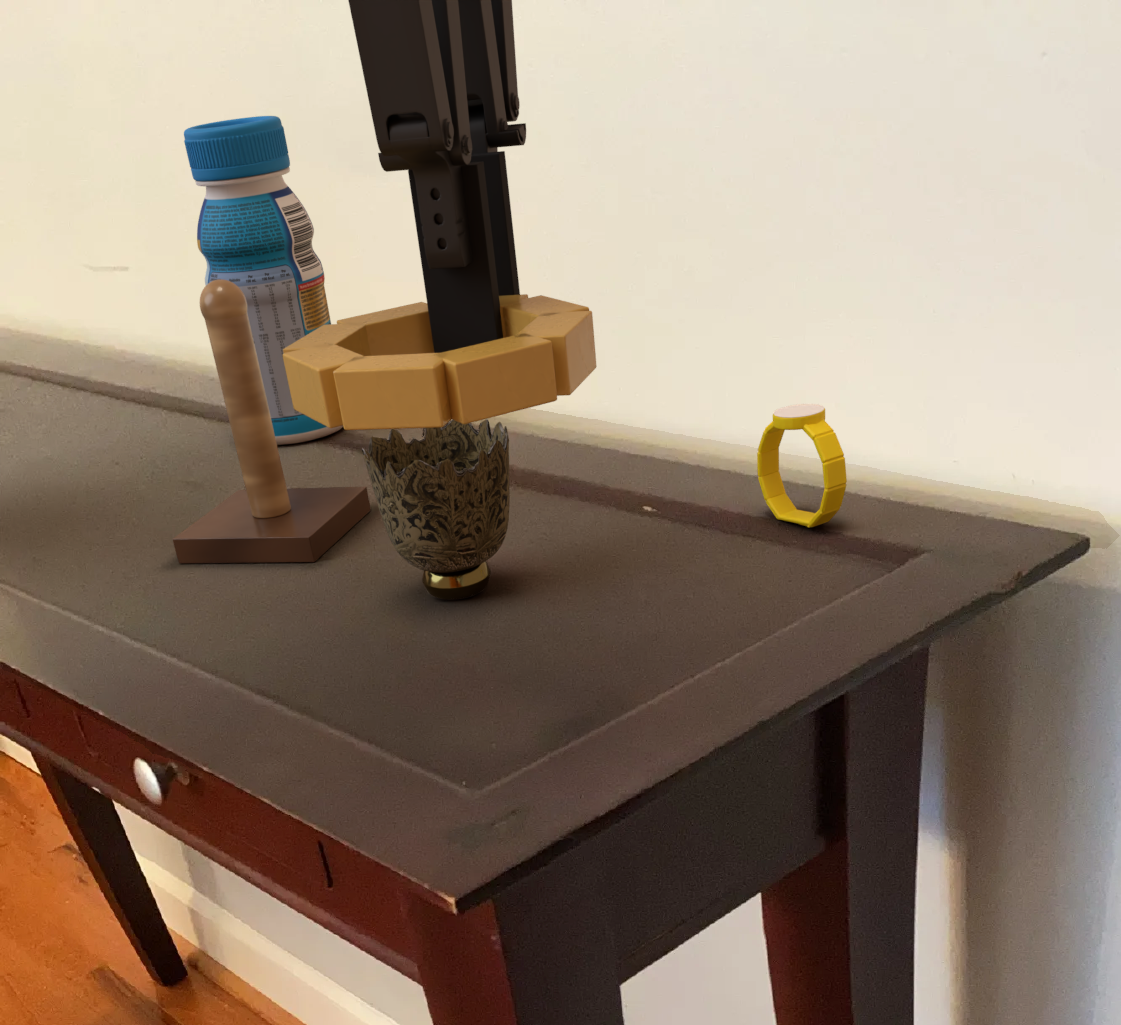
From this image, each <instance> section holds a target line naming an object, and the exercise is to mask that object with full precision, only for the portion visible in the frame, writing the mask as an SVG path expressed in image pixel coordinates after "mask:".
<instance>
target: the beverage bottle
mask: <svg viewBox="0 0 1121 1025" xmlns="http://www.w3.org/2000/svg"><path fill="white" fill-rule="evenodd" d="M183 138H184V141H183V143H184V145H185V151H186V156H187V160H188V163H189V167H190V172H191V175H192V178H193V180H194V181H195V185H196V186H198V187H205V196H204V198H203V201H202V205H201V208H200V212H199V216H198V221H197V226H196V227H197V230H196V241H197V242H196V243H197V244H196V245H197V249H198V250H199V252H200V253H201V255H202V256H203V257H204V259H205V262H206V270H205V275H204V285H205V286H206V285H207V284H208V283H210V282H212V281H214V280H218V279H224V280H228V281H231V282H233V283H234V284H236V285H237V286H238V287H239V288H240V289H241V291H242V292H243V294H244V296H245V298H246V301H247V314H248V318H249V323H250V327H251V332H252V336H253V340H254V345H255V349H256V354H257V358H258V363H259V367H260V372H261V376H262V380H263V385H264V389H265V394H266V398H267V403H268V407H269V412H270V416H271V421H272V425H273V429H274V434H275V438H276V443H277V446H281V445H282V446H283V445H292V444H299V443H305V442H309V441H315V440H317V439H321V438H324V437H327V436H330V435H332V434H334V433H337V432H338V431H340V430H342V428H344V426H338V427H334V428H329V427H327V426H325V425H323V424H321V423H319V422H317V421H315V420H313V419H311V418H310V417H308V416H306V415H304V414H302V413H300V412H298V411H296V410H295V409H294V408H293V403H292V398H291V393H290V389H289V384H288V379H287V374H286V370H285V365H284V360H283V354H284V353H283V349H284V348H286V347H288V346H289V345H291V344H293V343H294V342H296V341H298V340H299V339H301V338H303V337H304V336H306V335H308V334H309V333H311V332H313V331H314V330H316V329H318V328H319V327H321V326H323V325H330V324H332V321H331V316H330V309H329V304H328V300H327V294H326V288H325V272H324V267H323V264H322V261H321V259H320V258H319V256H318V255H317V253H316V252H315V249H314V248H313V238H314V234H315V228H314V225H313V223H312V219H311V218H310V216H309V213H308V211H307V210H306V208H305V207H304V204H303V203H302V202H301V200H300V199H299V198H298V197H297V195H296V194H295V192H294V191H293V190H292V189H291V187H290V186H288V184H287V183H286V182H285V179H284V178H283V176H284V175H287V174H288V173H290V172H291V169H290V166H291V160H290V155H289V149H288V144H287V138H286V134H285V128H284V126H283V123H282V120H281V118H280V117H279V116H276V115H259V116H249V117H248V116H247V117H242V118H232V119H226V120H225V119H224V120H219V121H214V122H208V123H207V122H206V123H202V124H198V125H193V126H190V127H188V128H186V129H185V130H184V131H183Z"/></svg>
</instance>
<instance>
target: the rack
mask: <svg viewBox="0 0 1121 1025" xmlns="http://www.w3.org/2000/svg"><path fill="white" fill-rule="evenodd" d="M199 309H200V313H201V315H202V317H203V319H204V323H205V326H206V329H207V335H208V339H209V343H210V347H211V351H212V355H213V356H212V357H213V359H214V364H215V367H216V372H217V376H218V380H219V384H220V390H221V392H222V396H223V401H224V405H225V408H226V413H227V417H228V421H229V425H230V430H231V433H232V438H233V442H234V446H235V450H236V453H237V458H238V462H239V466H240V470H241V475H242V478H243V483H244V488H245V489H238V490H236V491H235V492H233V493H232V494H230V495H229V496H228V497H227V498H226V499H224V500H223V501H221V502H220V503H219V504H217V505H215V507H213V508H212V509H211V510H209V511H208V512H206V513H205V514H204V515H202V516H201V517H199V519H197V520H196V521H195V522H193V523H192V524H190V525H189V526H188V527H187V528H185V529H184V530H182V531H181V532H180V533H178V534H177V535H176V536H174V537H172V544H173V547H174V550H175V554H176V558H177V561H178V563H179V564H249V563H250V564H251V563H255V564H256V563H257V564H259V563H262V564H263V563H315V562H316V561H317V560H319V558H321V557H322V556H323V555H324V554H326V552H327V551H328V550H329V549H330V548H331V547H333V546H334V544H336V543H337V542H338V541H339V540H340V539H341V538H342V537H343V536H344V535H345V534H347V533H348V532H349V531H350V530H351V529H352V528H354V526H356V525H357V524H358V523H359V522H360V521H361V520H362V519H363V518H364V517H365V516H367V514H368V513H370V511H371V510H372V508H371V503H370V499H369V498H370V497H369V492H368V487H367V486H333V487H332V486H329V487H328V486H327V487H292V488H288V487H287V483H286V479H285V475H284V469H283V465H282V462H281V456H280V451H279V447H278V445H277V443H276V438H275V434H274V429H273V425H272V421H271V416H270V412H269V407H268V403H267V398H266V394H265V389H264V385H263V380H262V376H261V372H260V367H259V363H258V358H257V354H256V349H255V345H254V340H253V336H252V332H251V327H250V323H249V318H248V314H247V301H246V298H245V296H244V294H243V292H242V291H241V289H240V288H239V287H238V286H237V285H236V284H234V283H233V282H231V281H228V280H224V279H218V280H214V281H212V282H210V283H208V284H207V285H205V286H204V287H203V289H202V291H201V292H200V296H199Z"/></svg>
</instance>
